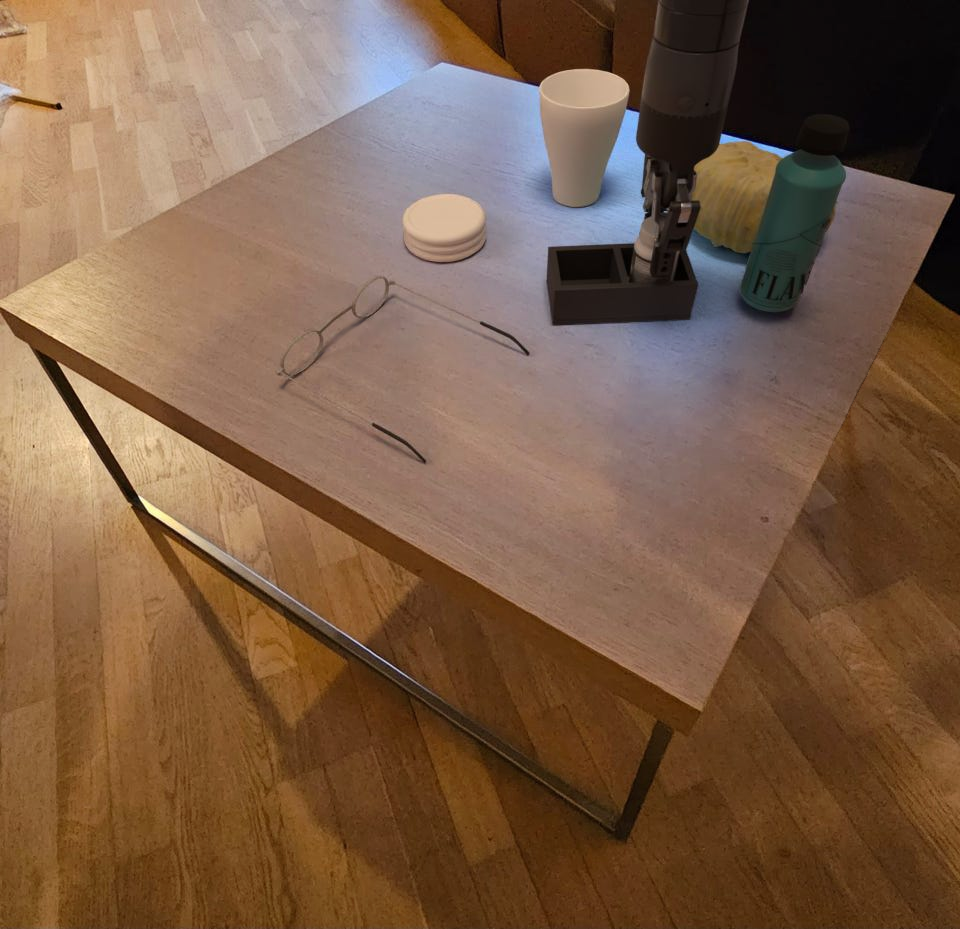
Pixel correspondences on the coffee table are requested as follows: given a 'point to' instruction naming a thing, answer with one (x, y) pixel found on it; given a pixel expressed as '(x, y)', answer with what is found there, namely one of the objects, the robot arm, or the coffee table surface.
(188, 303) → the coffee table surface
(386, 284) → the eyeglasses
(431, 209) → the white jar lid
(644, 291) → the holder
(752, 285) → the beverage bottle
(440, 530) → the coffee table surface
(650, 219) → the pill bottle
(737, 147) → the yellow lumpy rounded block
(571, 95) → the cup
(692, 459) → the coffee table surface
